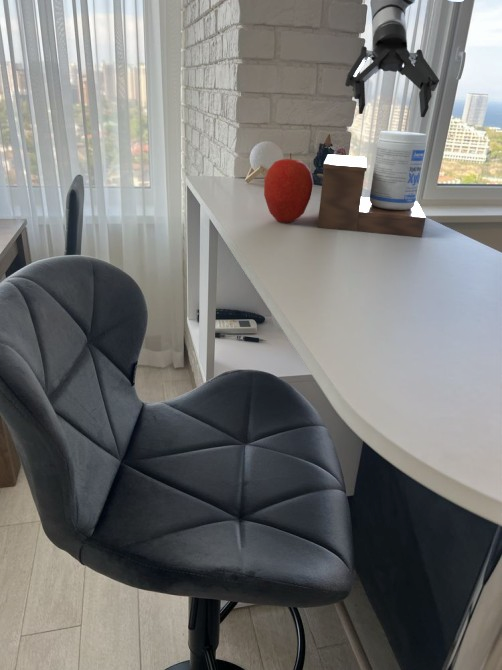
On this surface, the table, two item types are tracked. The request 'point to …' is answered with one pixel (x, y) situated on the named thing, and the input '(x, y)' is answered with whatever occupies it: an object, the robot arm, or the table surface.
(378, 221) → the step shelf
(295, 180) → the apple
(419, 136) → the supplement tub
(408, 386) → the table surface
